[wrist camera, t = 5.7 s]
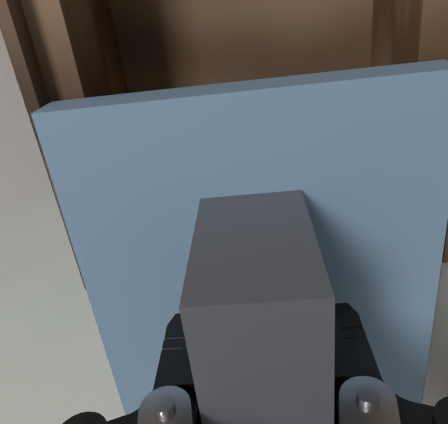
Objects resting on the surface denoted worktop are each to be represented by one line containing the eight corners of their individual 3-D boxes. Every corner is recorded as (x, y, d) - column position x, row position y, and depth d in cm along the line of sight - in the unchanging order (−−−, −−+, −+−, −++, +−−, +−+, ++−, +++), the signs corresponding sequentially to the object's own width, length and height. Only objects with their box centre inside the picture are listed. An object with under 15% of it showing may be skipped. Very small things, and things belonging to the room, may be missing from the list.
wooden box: (44, -143, 15) (-84, -228, 9) (418, -204, 14) (547, -344, 8) (128, 206, 22) (85, 289, 16) (392, 182, 21) (454, 262, 15)
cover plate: (52, 101, 13) (-96, 186, 7) (444, 59, 12) (627, 118, 6) (141, 411, 19) (99, 589, 14) (405, 399, 19) (479, 584, 13)
